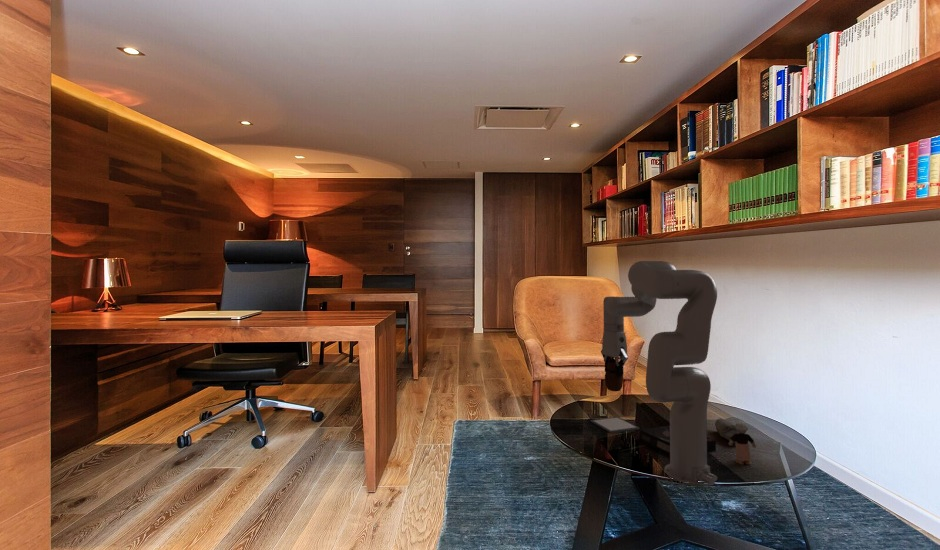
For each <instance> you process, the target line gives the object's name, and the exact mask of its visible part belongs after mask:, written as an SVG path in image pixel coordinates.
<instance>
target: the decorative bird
mask: <svg viewBox="0 0 940 550" xmlns="http://www.w3.org/2000/svg"><path fill="white" fill-rule="evenodd" d="M714 425H715V430H716V431H717V432H718V433H719V435H720V437H722V438H724V439H726V440H727V441H730V438H731V437H732V436H733V435H734V434H738V433H739V432H738V431H737V429H736V427H735V425H736V424H734V423H733V422H731V421H728V420H726V419H724V418H721V417H719V418H717V419H716V420H715V421H714ZM730 446H731V447H733V446H734V447H736V444H735V442H733V443H732V445H729V444H728V447H730Z"/></svg>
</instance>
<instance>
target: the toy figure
mask: <svg viewBox="0 0 940 550" xmlns="http://www.w3.org/2000/svg"><path fill="white" fill-rule="evenodd" d="M734 425H735V427H736V429H737V431H738V432H739V433H738V434H734V435H733V436H732V437H731V438H730V440H729V442H728V446H729V445H730V446H732V443H735V458H736V459H735V460H734V462H735V461H736V462H735V463H737V464H738V463H739V464H738V465H744V464H745V463H746V464H745V465H748V464H749V466H751V465H752V462H751V452H750V445H749V443H750V444H751V446H752V448H756V447H757V445H756V443H755V441H754V438H752V436H751V435H749V434H748V433H747V431H748V430H749V427H748V425H747V423H746V422H744V421H737V422H736V423H735V424H734ZM744 462H745V463H744Z"/></svg>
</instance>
